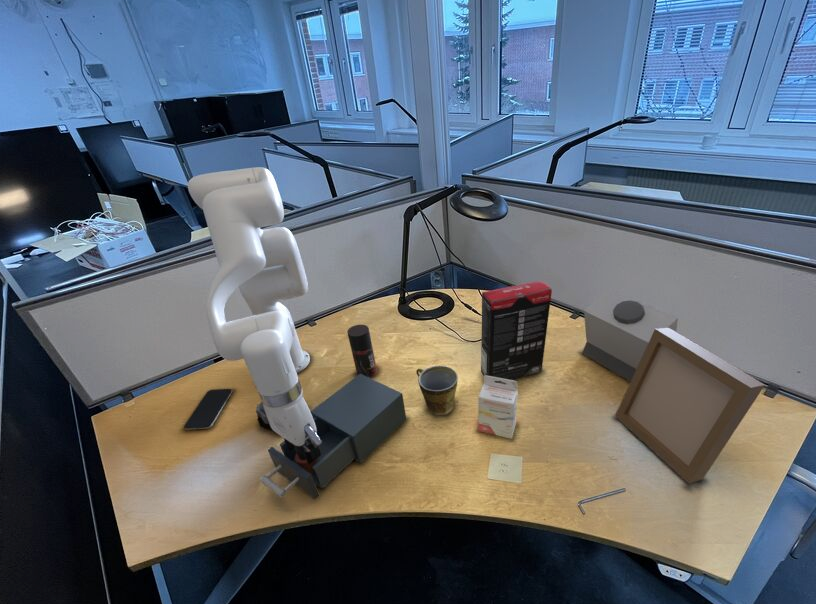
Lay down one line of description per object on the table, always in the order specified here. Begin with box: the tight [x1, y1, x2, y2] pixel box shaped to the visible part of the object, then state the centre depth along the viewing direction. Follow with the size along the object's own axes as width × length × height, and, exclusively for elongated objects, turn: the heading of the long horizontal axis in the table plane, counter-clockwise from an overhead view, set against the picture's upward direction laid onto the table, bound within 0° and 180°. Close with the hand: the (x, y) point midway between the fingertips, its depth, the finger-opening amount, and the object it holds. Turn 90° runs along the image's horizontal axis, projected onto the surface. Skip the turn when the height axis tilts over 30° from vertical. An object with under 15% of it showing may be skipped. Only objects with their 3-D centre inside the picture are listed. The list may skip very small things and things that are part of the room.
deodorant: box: [346, 324, 378, 378], centre depth 119 cm, size 6×6×15 cm
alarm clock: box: [581, 288, 679, 382], centre depth 114 cm, size 20×16×20 cm
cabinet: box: [310, 374, 407, 464], centre depth 101 cm, size 17×15×9 cm
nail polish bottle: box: [293, 440, 319, 475], centre depth 89 cm, size 4×4×10 cm
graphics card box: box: [480, 280, 553, 383], centre depth 111 cm, size 17×7×27 cm, turn 108°
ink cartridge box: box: [477, 375, 519, 439], centre depth 97 cm, size 9×5×15 cm, turn 71°
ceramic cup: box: [416, 365, 459, 416], centre depth 107 cm, size 13×10×10 cm
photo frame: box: [614, 328, 766, 484], centre depth 89 cm, size 15×22×25 cm
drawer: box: [259, 417, 357, 500], centre depth 91 cm, size 20×13×7 cm, turn 145°
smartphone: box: [183, 388, 233, 431], centre depth 113 cm, size 7×1×15 cm
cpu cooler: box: [255, 401, 275, 432], centre depth 107 cm, size 10×6×10 cm
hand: (304, 452), depth 89 cm, fingers open, 5 cm apart
